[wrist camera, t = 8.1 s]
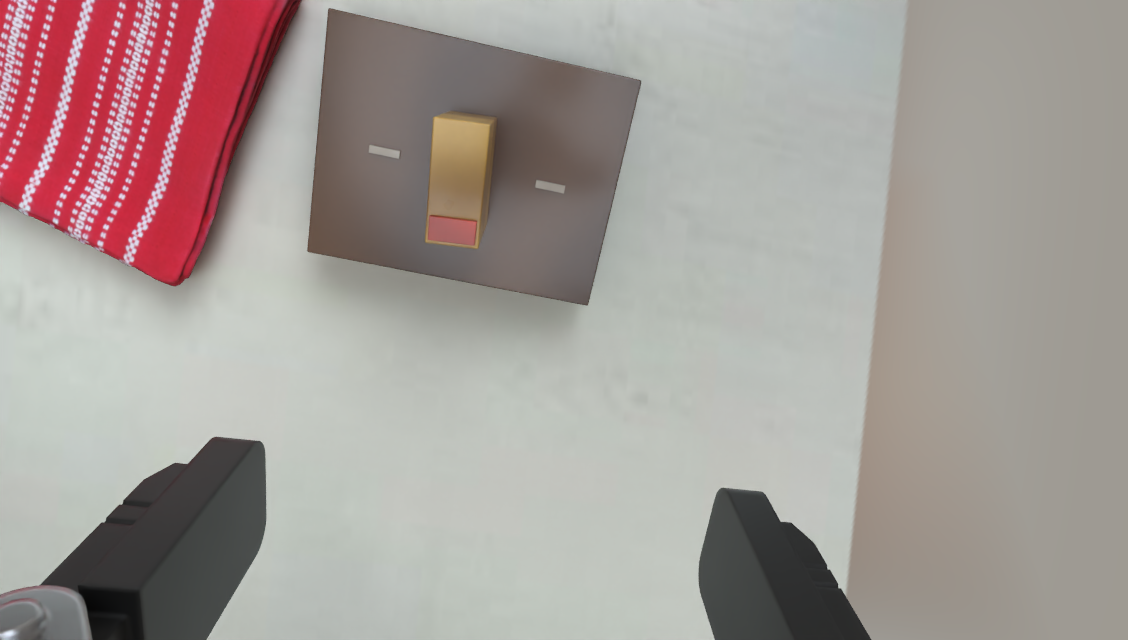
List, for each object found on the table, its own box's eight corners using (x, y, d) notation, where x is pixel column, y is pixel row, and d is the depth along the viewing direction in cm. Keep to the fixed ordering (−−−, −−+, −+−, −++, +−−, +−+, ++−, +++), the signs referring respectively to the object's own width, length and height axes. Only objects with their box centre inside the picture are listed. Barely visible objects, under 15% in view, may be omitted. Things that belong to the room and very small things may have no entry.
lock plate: (632, 80, 33) (642, 80, 30) (583, 288, 36) (588, 306, 33) (346, 14, 31) (326, 7, 28) (325, 238, 35) (305, 252, 32)
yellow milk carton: (449, 110, 30) (432, 116, 25) (497, 117, 30) (490, 124, 25) (441, 218, 32) (423, 244, 27) (486, 224, 32) (477, 251, 27)
